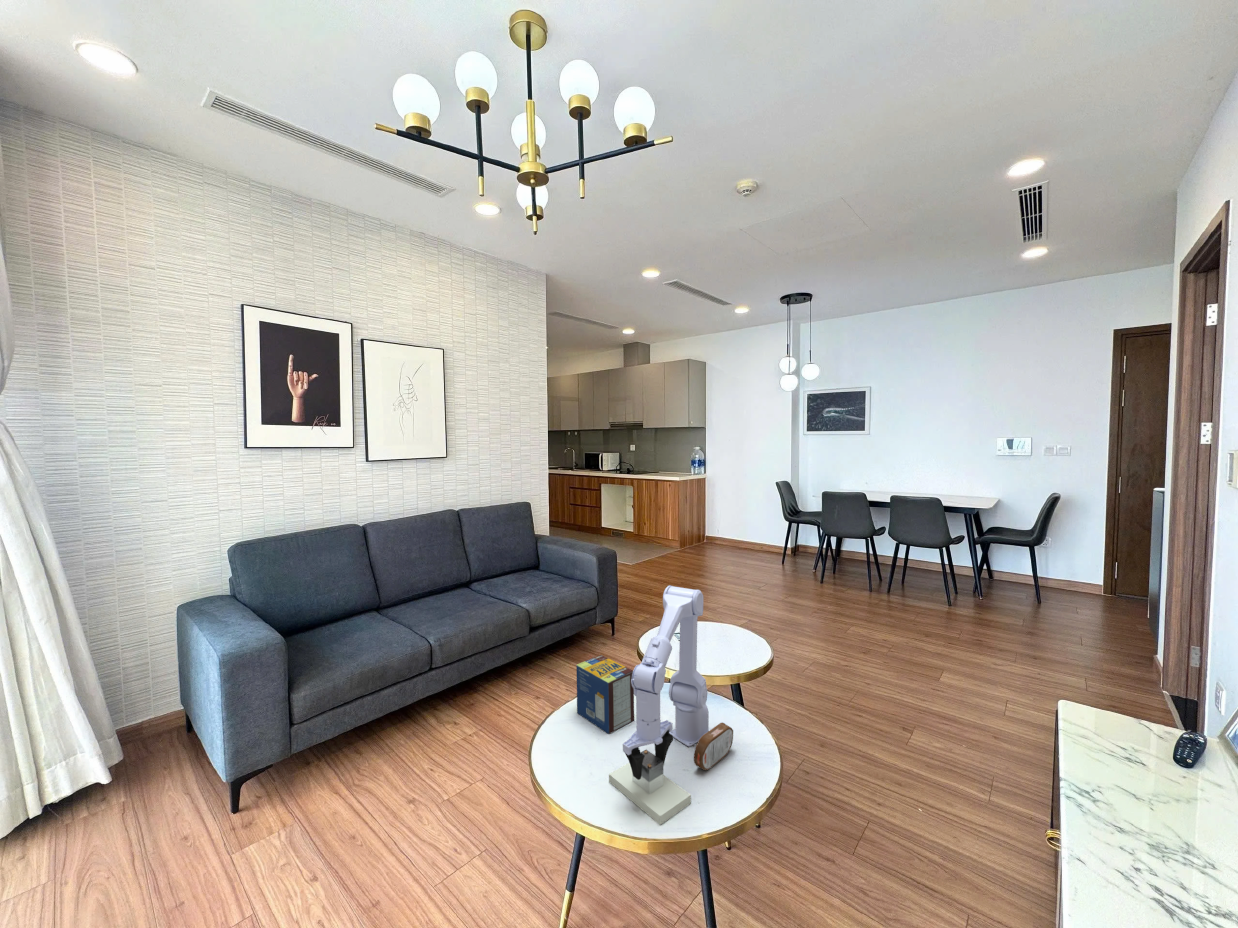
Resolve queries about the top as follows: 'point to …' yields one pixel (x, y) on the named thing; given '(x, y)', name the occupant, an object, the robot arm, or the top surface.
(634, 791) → the sage stand
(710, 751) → the tin
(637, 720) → the robot arm
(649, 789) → the housing
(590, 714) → the protein box
